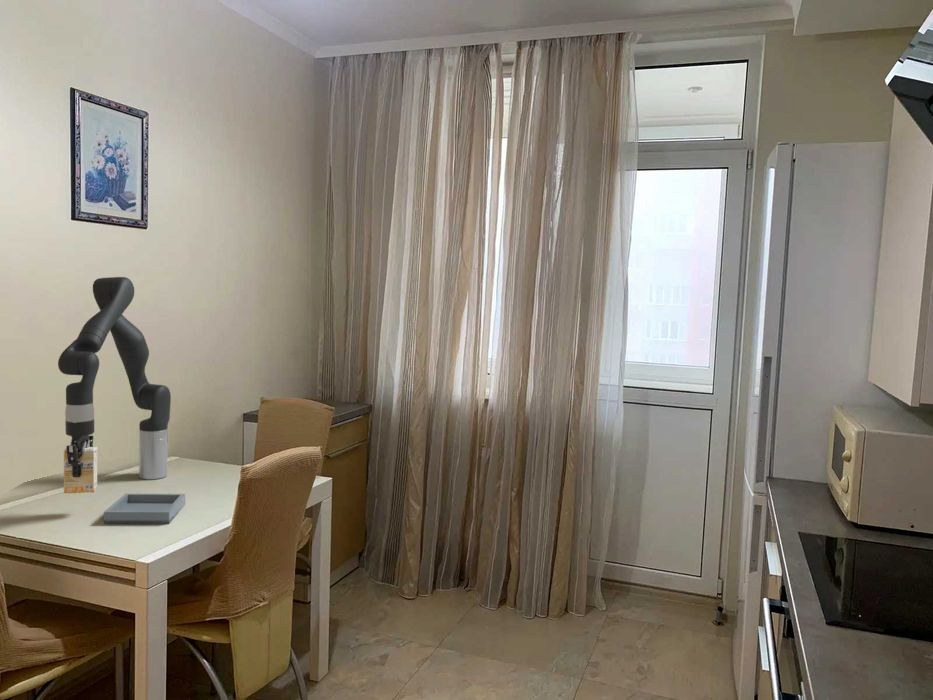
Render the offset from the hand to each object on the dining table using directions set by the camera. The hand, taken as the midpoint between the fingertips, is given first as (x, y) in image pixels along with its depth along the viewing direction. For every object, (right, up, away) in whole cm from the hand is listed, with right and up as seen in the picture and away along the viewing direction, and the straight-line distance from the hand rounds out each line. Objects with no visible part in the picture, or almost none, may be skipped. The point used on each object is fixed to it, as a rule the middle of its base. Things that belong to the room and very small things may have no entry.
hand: (80, 473), depth 211 cm
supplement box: (0, -5, +1) cm, 6 cm away
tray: (+18, -13, +4) cm, 22 cm away
